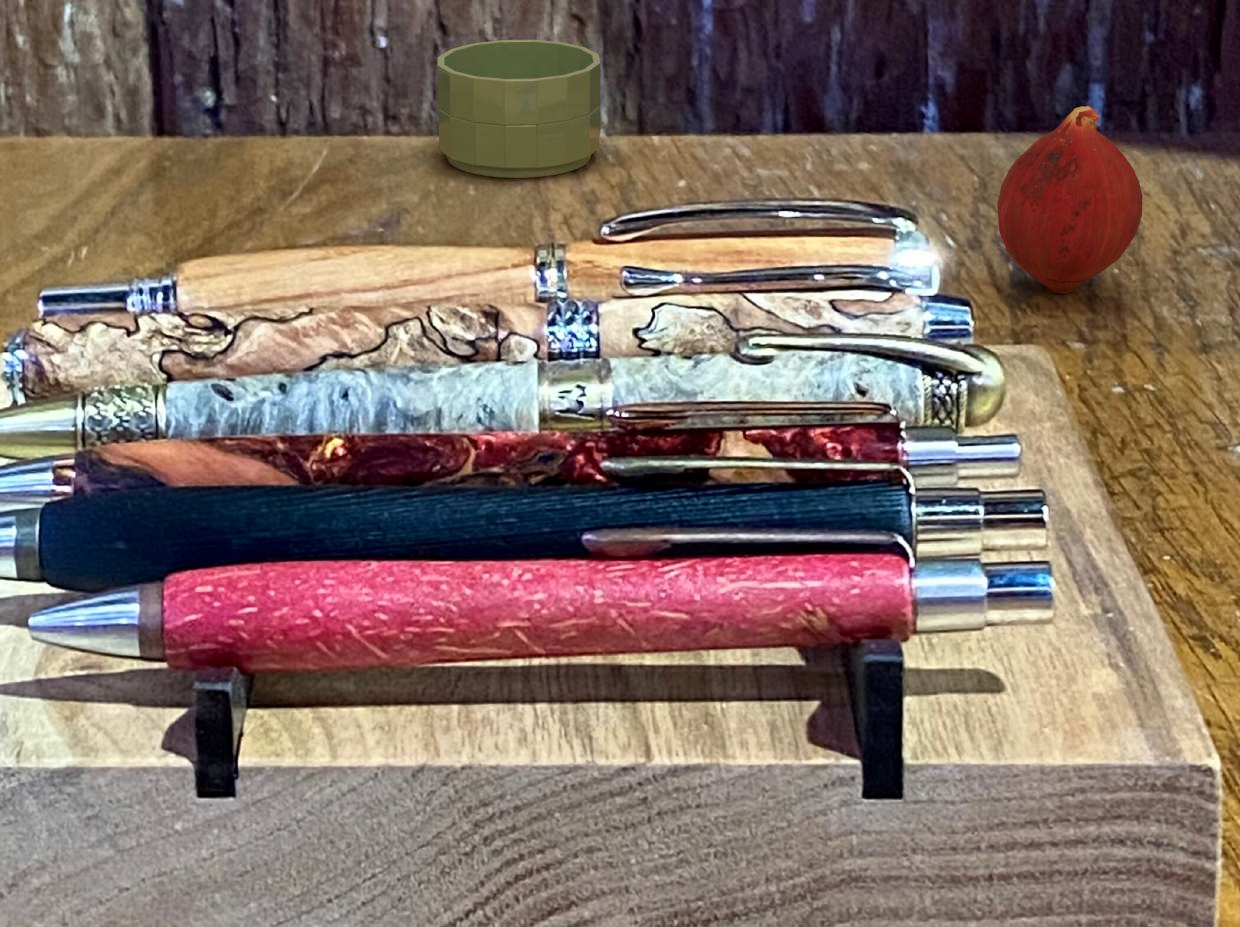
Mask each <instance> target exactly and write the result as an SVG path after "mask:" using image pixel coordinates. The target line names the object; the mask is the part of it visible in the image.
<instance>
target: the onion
mask: <svg viewBox="0 0 1240 927" xmlns="http://www.w3.org/2000/svg"><path fill="white" fill-rule="evenodd" d="M1099 119H1100V115H1099V113H1098V111H1096V110H1095V109H1094V108H1093V107H1092V106H1090V105H1086V106H1079V107H1075V108H1073V110H1072V111H1071V112H1070V113H1069V114H1068V115H1067V116H1066V117H1065V118H1064V120H1063V121H1062V122H1061V124H1060V125H1059V126H1058V127H1056V128H1055V129H1053V130H1052V131H1051V132H1048V133H1047V134H1045V135H1043V136H1042V137H1040V138H1038V140H1036V141H1034V142H1033V143H1032V144H1031V145H1030V146H1029V147H1028V148H1027V149H1026V151H1024V152H1023V153H1022V154H1021V155H1020V156H1018V158H1017V159H1016V160H1014V162H1013V164H1012V165H1011V167H1010V168H1009V169H1008V171H1007V173H1006V175H1005V176H1004V179H1003V181H1002V183H1001V185H1000V188H999V189H1000V190H999V193H998V197H997V198H998V199H997V202H996V203H997V204H996V205H997V221H998V222H997V223H998V231H999V235H1000V239H1001V240H1002V243H1003V245H1004V247H1005V251H1006V252H1007V253H1008V254H1009V255H1010V257H1011V258H1012V260H1013V261H1014V262H1015V263H1016V264H1017V265H1018V266H1019V267H1020V268H1021V269H1022V270H1023V271H1025V272H1026V273H1027V274H1028V275H1030V276H1031V277H1032V278H1033V279H1035V280H1036V281H1038V282H1039V283H1040V284H1041V285H1042V286H1045V287H1046V288H1047V289H1048V290H1049V291H1051V292H1052V293H1056V294H1063V295H1064V294H1069V293H1072V292H1074V291H1075V290H1077V289H1078V288H1080V287H1081V285H1082V284H1084V283H1086V282H1087V281H1088V280H1090V279H1091V278H1093V277H1095V276H1097V275H1099V274H1100V273H1102V272H1104V271H1105V270H1107V269H1108V268H1109V267H1111V266H1112V265H1113V264H1114V263H1116V262H1118V260H1120V258H1121V257H1122V256H1123V255H1124V253H1125V252H1126V250H1127V249H1128V248H1129V246H1130V245H1131V243H1132V242H1133V241H1134V239H1135V237H1136V236H1137V234H1138V231H1139V227H1140V224H1141V220H1142V217H1143V192H1142V188H1141V184H1140V180H1139V178H1138V176H1137V174H1136V172H1135V169H1134V168H1133V166H1132V165H1131V163H1130V162H1129V160H1128V159H1127V158H1126V156H1125V155H1124V153H1123V152H1122V151H1121V150H1120V149H1119V148H1118V146H1117V145H1116V144H1114V143H1113V142H1112V141H1111V140H1110V139H1109V138H1107V137H1106V136H1105V135H1103V134H1102V133H1100V132H1099V131H1098V130H1097V123H1099Z"/></svg>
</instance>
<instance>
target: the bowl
mask: <svg viewBox="0 0 1240 927" xmlns="http://www.w3.org/2000/svg"><path fill="white" fill-rule="evenodd" d="M437 104H438V105H437V106H438V110H437V111H438V112H437V113H438V150H439V151H440V152H441V153H442V154H444V155H445V156H446V160H447V161H448V164H450V165H451V166H453V167H454V168H456V169H458V170H460V171H463V172H466V173H469V174H473V175H478V176H483V177H492V178H500V179H501V178H502V179H531V178H532V179H533V178H543V177H551V176H556V175H562V174H566V173H569V172H572V171H575V170H578V169H580V168H582V167H584V166H585V165H587V164H588V163H589V162H590V160H591V158H592V155H593V154H594V153H595V152H597V151H598V150H599V149H600V140H601V139H600V134H601V133H600V132H601V128H600V127H601V126H600V125H601V106H600V105H601V59H600V55H599V53H597V52H595V51H593V50H591V49H589V48H587V47H585V46H581V45H578V44H577V45H576V44H572V43H567V42H562V41H552V40H541V39H499V40H491V41H483V42H474V43H469V44H466V45H462V46H458V47H454V48H450V49H448V50H447V51H445V52H444V53H442V54H440V55H438V57H437Z"/></svg>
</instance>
